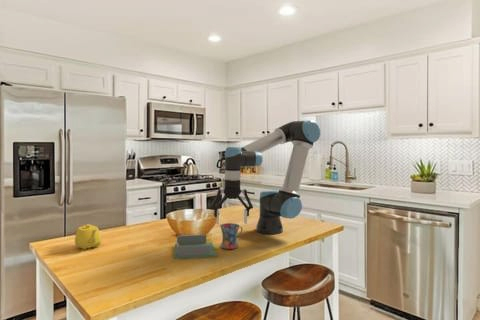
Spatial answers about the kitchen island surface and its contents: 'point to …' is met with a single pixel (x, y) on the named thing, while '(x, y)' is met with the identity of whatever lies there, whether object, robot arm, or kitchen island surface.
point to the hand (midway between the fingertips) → (231, 223)
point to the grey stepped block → (193, 247)
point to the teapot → (88, 237)
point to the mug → (230, 235)
